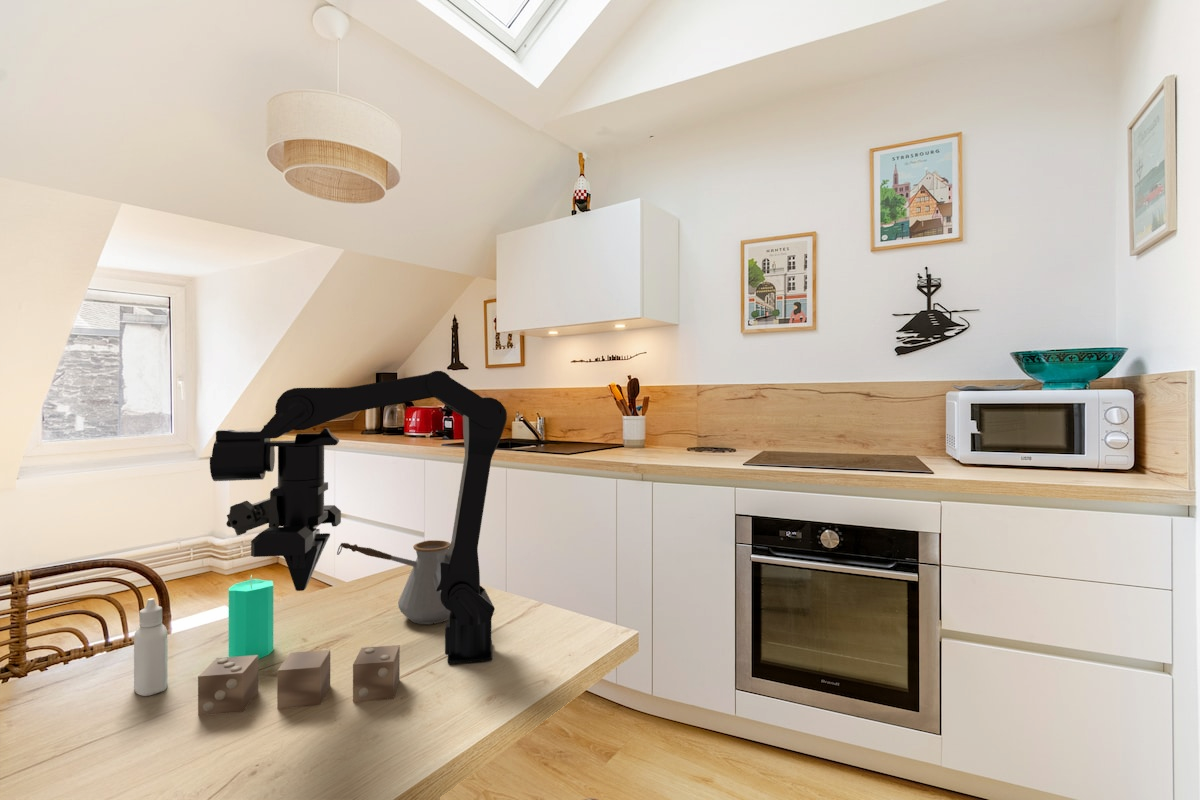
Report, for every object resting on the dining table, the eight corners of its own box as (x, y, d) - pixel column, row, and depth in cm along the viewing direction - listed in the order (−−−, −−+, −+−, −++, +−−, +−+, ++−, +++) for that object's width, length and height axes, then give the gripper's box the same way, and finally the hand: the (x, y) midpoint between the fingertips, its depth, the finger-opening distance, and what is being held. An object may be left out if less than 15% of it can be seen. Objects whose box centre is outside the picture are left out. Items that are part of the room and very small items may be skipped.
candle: (252, 664, 84) (252, 582, 84) (217, 659, 86) (218, 579, 86) (282, 646, 90) (282, 570, 90) (250, 642, 92) (250, 567, 91)
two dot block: (399, 680, 80) (399, 643, 80) (393, 700, 75) (393, 660, 75) (361, 683, 79) (361, 646, 79) (352, 703, 74) (352, 663, 74)
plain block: (330, 686, 78) (330, 649, 78) (319, 705, 74) (319, 667, 73) (290, 689, 77) (290, 652, 77) (277, 709, 73) (277, 670, 73)
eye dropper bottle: (177, 675, 81) (177, 590, 81) (162, 695, 75) (162, 604, 75) (140, 680, 79) (140, 593, 79) (121, 701, 74) (121, 608, 74)
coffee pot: (454, 600, 111) (455, 523, 111) (472, 621, 101) (473, 536, 101) (333, 620, 101) (334, 535, 100) (339, 646, 91) (340, 551, 90)
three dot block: (258, 692, 77) (258, 653, 77) (242, 713, 72) (242, 672, 72) (216, 695, 76) (216, 656, 76) (197, 717, 71) (197, 675, 71)
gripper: (263, 470, 87) (263, 572, 88) (204, 490, 69) (203, 619, 69) (342, 469, 89) (341, 568, 90) (304, 488, 71) (303, 614, 71)
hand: (300, 590), depth 80 cm, fingers closed
